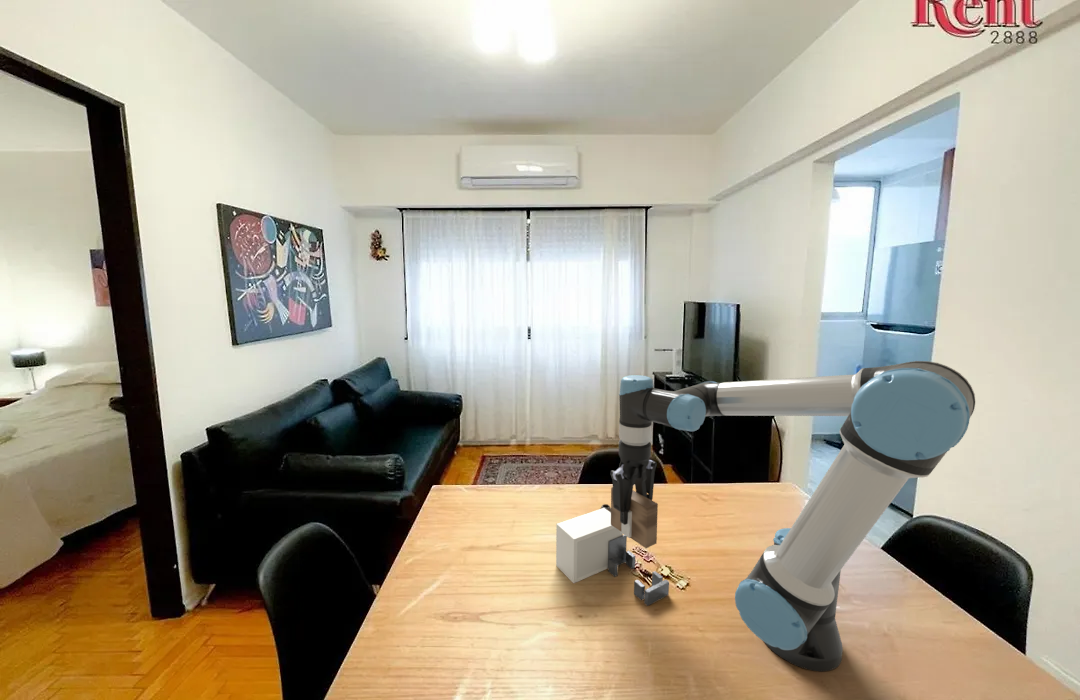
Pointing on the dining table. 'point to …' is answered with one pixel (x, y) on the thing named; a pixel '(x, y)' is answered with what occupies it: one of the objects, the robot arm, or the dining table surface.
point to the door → (639, 519)
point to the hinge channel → (620, 556)
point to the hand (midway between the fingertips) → (632, 531)
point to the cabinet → (584, 544)
